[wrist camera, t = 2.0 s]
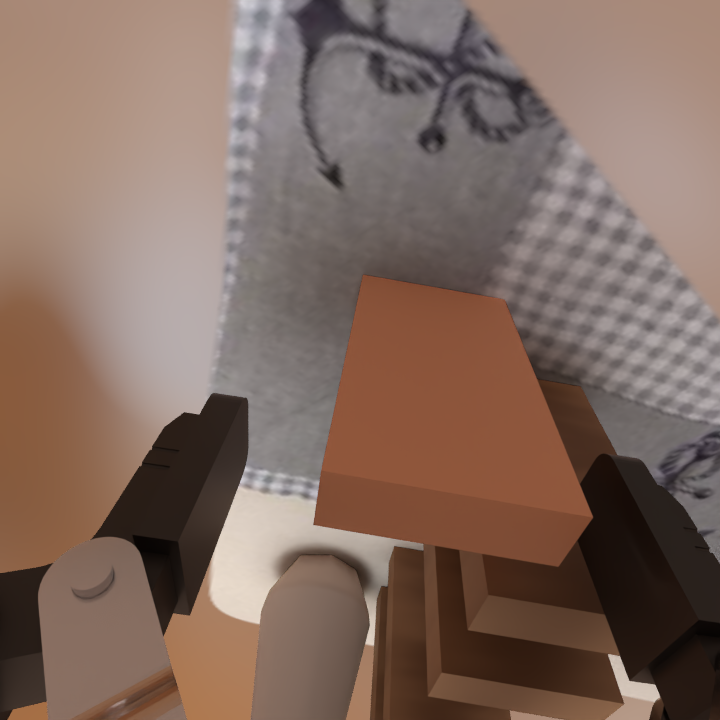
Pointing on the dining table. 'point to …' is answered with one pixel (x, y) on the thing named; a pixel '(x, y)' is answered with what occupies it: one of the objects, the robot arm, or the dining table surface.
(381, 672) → the domino
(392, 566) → the domino
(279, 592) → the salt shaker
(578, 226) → the dining table surface
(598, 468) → the robot arm
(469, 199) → the dining table surface
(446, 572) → the domino
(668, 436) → the dining table surface
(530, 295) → the dining table surface
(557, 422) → the domino
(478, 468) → the domino
